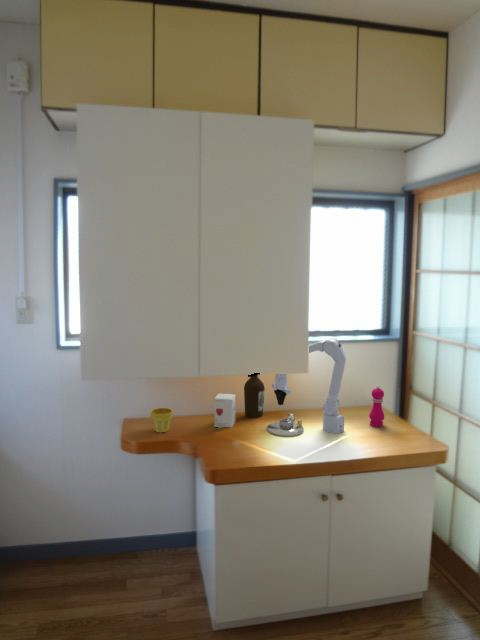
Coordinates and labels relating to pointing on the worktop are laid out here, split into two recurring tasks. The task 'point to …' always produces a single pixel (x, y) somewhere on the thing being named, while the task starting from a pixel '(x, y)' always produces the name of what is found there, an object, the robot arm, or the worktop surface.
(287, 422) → the cover
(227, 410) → the supplement box
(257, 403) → the olive oil
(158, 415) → the plant pot
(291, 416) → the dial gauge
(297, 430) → the turntable
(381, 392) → the pepper mill
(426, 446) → the worktop surface
